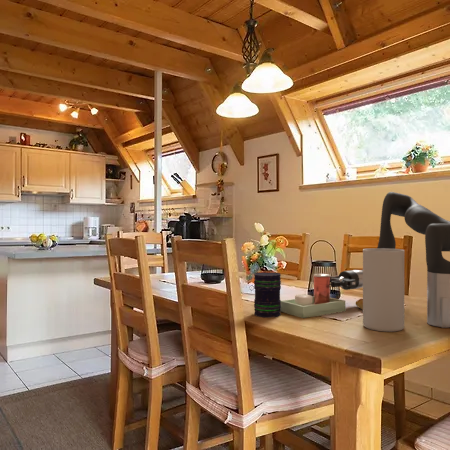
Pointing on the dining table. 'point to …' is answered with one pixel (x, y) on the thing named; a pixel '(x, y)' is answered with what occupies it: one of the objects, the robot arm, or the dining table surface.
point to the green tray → (312, 308)
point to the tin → (321, 288)
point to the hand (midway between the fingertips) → (323, 282)
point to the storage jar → (267, 294)
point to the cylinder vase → (383, 289)
